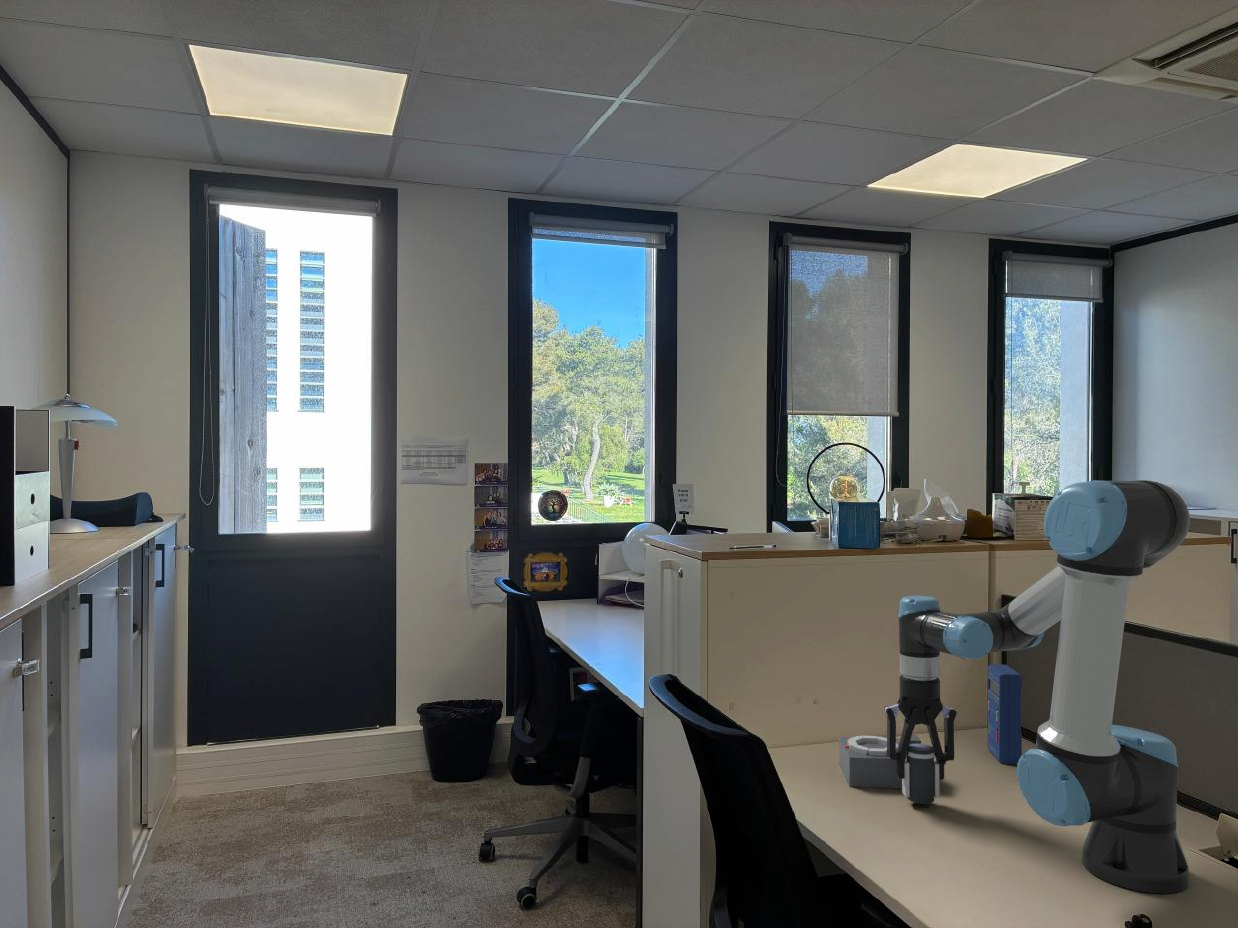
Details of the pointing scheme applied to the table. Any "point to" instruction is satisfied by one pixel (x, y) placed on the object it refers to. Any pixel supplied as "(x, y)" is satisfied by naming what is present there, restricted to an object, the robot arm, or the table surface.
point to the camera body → (869, 761)
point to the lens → (921, 773)
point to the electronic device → (1004, 713)
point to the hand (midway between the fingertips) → (920, 794)
